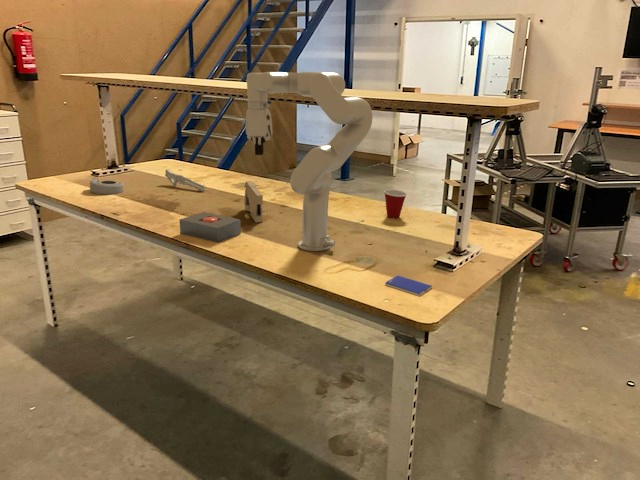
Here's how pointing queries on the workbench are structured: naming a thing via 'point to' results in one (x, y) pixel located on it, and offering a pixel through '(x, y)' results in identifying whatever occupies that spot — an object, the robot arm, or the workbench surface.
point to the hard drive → (408, 285)
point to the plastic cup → (394, 202)
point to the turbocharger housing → (105, 186)
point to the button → (210, 219)
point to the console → (210, 227)
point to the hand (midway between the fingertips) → (259, 154)
